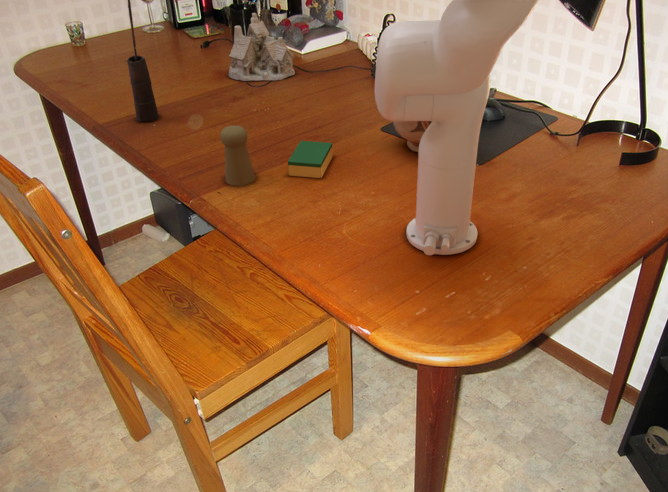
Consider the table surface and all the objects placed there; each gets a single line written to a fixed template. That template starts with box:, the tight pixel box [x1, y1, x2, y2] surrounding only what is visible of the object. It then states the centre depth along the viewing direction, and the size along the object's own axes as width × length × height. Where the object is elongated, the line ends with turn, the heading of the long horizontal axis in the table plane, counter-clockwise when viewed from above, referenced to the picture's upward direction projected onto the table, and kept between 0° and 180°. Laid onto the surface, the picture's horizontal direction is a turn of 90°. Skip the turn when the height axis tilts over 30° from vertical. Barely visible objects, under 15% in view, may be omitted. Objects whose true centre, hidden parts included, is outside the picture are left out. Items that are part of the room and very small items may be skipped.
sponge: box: [287, 140, 334, 179], centre depth 136 cm, size 10×7×3 cm
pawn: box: [220, 124, 256, 187], centre depth 129 cm, size 6×6×11 cm
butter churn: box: [124, 0, 160, 123], centre depth 147 cm, size 9×10×28 cm
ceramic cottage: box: [228, 12, 296, 82], centre depth 176 cm, size 16×16×15 cm
